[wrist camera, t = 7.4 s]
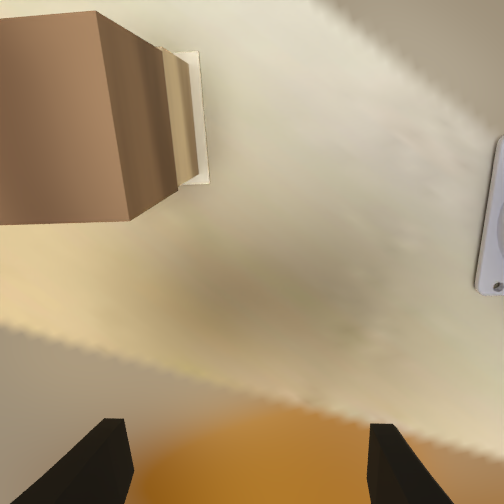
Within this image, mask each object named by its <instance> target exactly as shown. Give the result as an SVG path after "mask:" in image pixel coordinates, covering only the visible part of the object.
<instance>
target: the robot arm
mask: <svg viewBox="0 0 504 504" xmlns="http://www.w3.org/2000/svg"><path fill="white" fill-rule="evenodd" d="M498 282H500V285H499V286H498V287H497V288H494V289H493V286H494V285H495V284H496V283H498ZM475 289H476V291H477V292H479V293H480V294H481V295H485V296H504V135H503V136H501V138H500V139H499V140H498V143H497V147H496V153H495V159H494V166H493V172H492V178H491V184H490V191H489V197H488V203H487V210H486V216H485V222H484V229H483V235H482V241H481V247H480V254H479V260H478V266H477V273H476V279H475ZM133 473H134V467H133V462H132V457H131V452H130V447H129V442H128V437H127V432H126V428H125V422H124V419H108V418H107V419H106V418H104V419H103V420H102V421H101V422H100V423H99V424H98V425H97V426H96V427H94V428H93V429H92V430H91V431H90V432H89V433H88V434H87V435H86V436H85V437H84V438H83V439H82V440H81V441H80V442H78V443H77V444H76V445H75V446H74V447H73V448H72V449H71V450H70V451H69V452H68V453H67V454H66V455H65V456H64V457H62V458H61V459H60V460H59V461H58V462H57V463H56V464H55V465H54V466H53V467H52V468H50V469H49V471H47V472H46V473H45V474H44V475H43V476H42V477H41V478H40V479H38V480H37V481H36V482H35V483H34V484H33V485H31V486H30V487H29V488H28V489H27V490H26V491H24V492H23V493H22V494H21V495H20V496H19V497H18V498H16V499H15V500H14V501H13V502H12V503H10V504H124V503H125V500H126V496H127V493H128V490H129V487H130V483H131V480H132V476H133ZM367 483H368V488H369V494H370V499H371V504H454V503H453V502H452V501H451V499H450V498H449V497H448V496H447V494H446V493H445V492H444V491H443V489H442V488H441V487H440V486H439V484H438V483H437V482H436V481H435V480H434V478H433V477H432V476H431V475H430V473H429V472H428V471H427V469H426V468H425V467H424V465H423V464H422V463H421V461H420V460H419V459H418V457H417V456H416V455H415V453H414V452H413V450H412V449H411V448H410V446H409V445H408V444H407V442H406V441H405V439H404V438H403V436H402V435H401V433H400V432H399V431H398V429H397V428H396V427H395V426H394V425H393V424H371V423H370V437H369V451H368V466H367Z"/></svg>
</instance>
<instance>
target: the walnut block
mask: <svg viewBox="0 0 504 504" xmlns="http://www.w3.org/2000/svg"><path fill="white" fill-rule="evenodd" d="M176 191H178V185H177V176H176V167H175V159H174V150H173V141H172V132H171V124H170V115H169V106H168V98H167V89H166V80H165V72H164V63H163V54H162V51H161V50H159V49H158V48H156V47H154V46H153V45H151V44H150V43H148V42H146V41H145V40H143V39H141V38H140V37H138V36H136V35H135V34H133V33H131V32H130V31H128V30H127V29H125V28H123V27H122V26H120V25H118V24H117V23H115V22H113V21H112V20H110V19H108V18H107V17H105V16H103V15H102V14H100V13H99V12H97V11H85V12H74V13H62V14H50V15H38V16H27V17H15V18H3V19H0V225H21V224H54V223H86V222H119V221H131V220H132V219H134V218H135V217H137V216H139V215H140V214H142V213H143V212H145V211H146V210H148V209H150V208H151V207H153V206H154V205H156V204H158V203H159V202H161V201H162V200H164V199H165V198H167V197H169V196H170V195H172V194H173V193H175V192H176Z"/></svg>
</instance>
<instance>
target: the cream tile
mask: <svg viewBox="0 0 504 504" xmlns="http://www.w3.org/2000/svg"><path fill="white" fill-rule="evenodd" d="M172 54H174V55H176V56H177V57H179V58H180V59H182V60H183V61H185V62H186V63H188V64H189V74H190V85H191V95H192V106H193V116H194V127H195V138H196V148H197V159H198V169H199V174H198V175H197V176H195V177H193V178H192V179H190V180H188V181H187V182H185V183H183V184H182V185H190V184H210V178H209V166H208V155H207V143H206V131H205V120H204V108H203V96H202V85H201V73H200V61H199V51H190V52H176V53H172Z"/></svg>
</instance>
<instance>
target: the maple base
mask: <svg viewBox="0 0 504 504" xmlns="http://www.w3.org/2000/svg"><path fill="white" fill-rule="evenodd" d="M156 48H158V49H159V50H161V51H162V54H163V63H164V72H165V80H166V89H167V98H168V106H169V115H170V124H171V132H172V141H173V150H174V159H175V167H176V176H177V185H178V186H180V185H182V184H183V183H185V182H187V181H188V180H190V179H192V178H193V177H195V176H197V175H198V174H199V169H198V159H197V148H196V138H195V127H194V116H193V106H192V95H191V85H190V74H189V64H188V63H186V62H185V61H183V60H182V59H180V58H179V57H177V56H176V55H174V54H172V53H171V52H169V51H168V50H166V49H165V48H163V47H156Z"/></svg>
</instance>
